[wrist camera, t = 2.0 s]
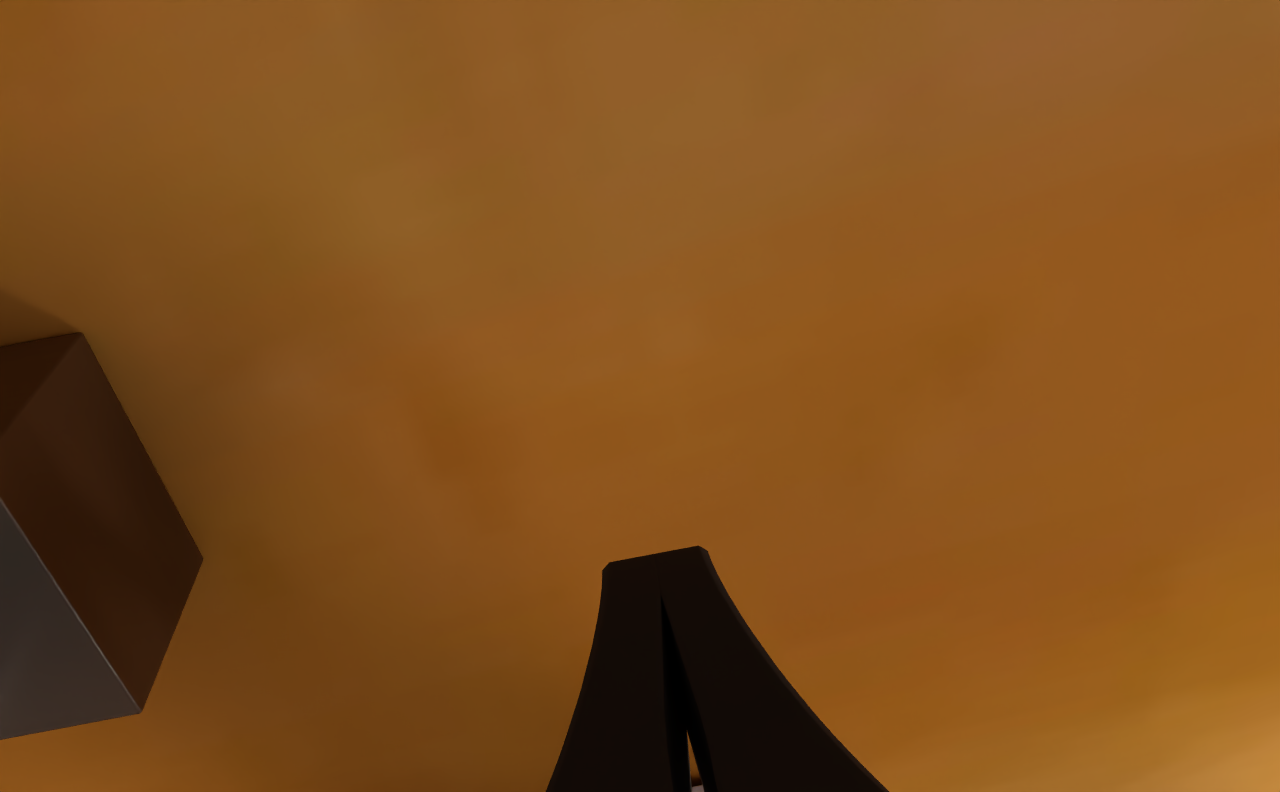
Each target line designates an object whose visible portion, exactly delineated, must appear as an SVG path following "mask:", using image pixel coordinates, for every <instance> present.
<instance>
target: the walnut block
mask: <svg viewBox="0 0 1280 792" xmlns="http://www.w3.org/2000/svg"><path fill="white" fill-rule="evenodd" d="M202 562H203V557H202V555H201V553H200V552H199V550H198V548H197V546H196V544H195V542H194V540H193V538H192V537H191V535H190V533H189V531H188V529H187V527H186V525H185V524H184V522H183V520H182V518H181V516H180V514H179V512H178V511H177V509H176V507H175V505H174V503H173V501H172V499H171V497H170V496H169V494H168V492H167V490H166V488H165V486H164V484H163V483H162V481H161V479H160V477H159V475H158V473H157V471H156V469H155V468H154V466H153V464H152V462H151V460H150V458H149V456H148V455H147V453H146V451H145V449H144V447H143V445H142V443H141V441H140V440H139V438H138V436H137V434H136V432H135V430H134V428H133V427H132V425H131V423H130V421H129V419H128V417H127V415H126V413H125V412H124V410H123V408H122V406H121V404H120V402H119V400H118V399H117V397H116V395H115V393H114V391H113V389H112V387H111V385H110V384H109V382H108V380H107V378H106V376H105V374H104V372H103V371H102V369H101V367H100V365H99V363H98V361H97V359H96V357H95V356H94V354H93V352H92V350H91V348H90V346H89V344H88V343H87V341H86V339H85V337H84V335H83V334H82V333H75V334H70V335H65V336H59V337H54V338H48V339H43V340H37V341H32V342H27V343H21V344H16V345H10V346H5V347H0V740H2V739H7V738H13V737H18V736H23V735H29V734H34V733H39V732H44V731H50V730H55V729H60V728H66V727H71V726H76V725H81V724H87V723H92V722H97V721H103V720H108V719H113V718H119V717H124V716H129V715H134V714H139V713H141V712H142V710H143V708H144V705H145V703H146V701H147V698H148V696H149V693H150V691H151V688H152V686H153V683H154V681H155V678H156V676H157V673H158V671H159V668H160V666H161V663H162V661H163V658H164V656H165V653H166V651H167V648H168V646H169V643H170V641H171V639H172V636H173V634H174V631H175V629H176V626H177V624H178V621H179V619H180V616H181V614H182V611H183V609H184V606H185V604H186V601H187V599H188V596H189V594H190V591H191V589H192V586H193V584H194V582H195V579H196V577H197V574H198V572H199V569H200V567H201V564H202Z"/></svg>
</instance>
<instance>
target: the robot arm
mask: <svg viewBox="0 0 1280 792" xmlns="http://www.w3.org/2000/svg"><path fill="white" fill-rule="evenodd" d="M687 732H688V735H689V739H690V743H691V746H692V750H693V753H694V757H695V760H696V764H697V768H698V771H699V775H700V778H701V782H702V785H699V786H694V787H692V786H691V774H690V763H689V751H688V739H687ZM546 792H889V791H888V790H887V789H886V788H885V787H884V786H883V785H882V784H881V783H880V782H879V781H878V780H877V779H876V778H875V777H874V776H873V775H872V774H871V773H870V772H869V771H868V770H867V769H866V768H865V767H864V766H863V765H862V764H861V763H860V762H859V761H858V760H857V759H856V758H855V757H854V756H853V755H852V754H851V753H850V752H849V751H848V750H847V749H846V748H845V747H844V745H843V744H842V743H841V742H840V741H839V740H838V739H837V738H836V737H835V736H834V735H833V734H832V733H831V731H830V730H829V729H828V728H827V727H826V726H825V725H824V724H823V722H822V721H821V720H820V719H819V718H818V717H817V716H816V714H815V713H814V712H813V711H812V710H811V709H810V707H809V706H808V705H807V704H806V702H805V701H804V700H803V699H802V698H801V696H800V695H799V694H798V693H797V692H796V690H795V689H794V688H793V687H792V685H791V684H790V683H789V682H788V680H787V679H786V678H785V676H784V675H783V674H782V673H781V671H780V670H779V669H778V667H777V666H776V665H775V663H774V662H773V661H772V659H771V658H770V656H769V655H768V654H767V652H766V651H765V649H764V648H763V647H762V645H761V644H760V642H759V641H758V640H757V638H756V637H755V635H754V634H753V633H752V631H751V630H750V628H749V627H748V625H747V624H746V622H745V621H744V619H743V618H742V616H741V614H740V613H739V611H738V609H737V608H736V606H735V605H734V603H733V601H732V600H731V598H730V596H729V595H728V593H727V591H726V589H725V588H724V586H723V584H722V582H721V580H720V578H719V576H718V574H717V572H716V570H715V568H714V566H713V564H712V561H711V559H710V556H709V554H708V551H707V550H705V549H703V548H702V547H700V546H694V547H689V548H683V549H678V550H673V551H667V552H662V553H657V554H652V555H646V556H641V557H636V558H630V559H625V560H620V561H614V562H609V563H608V565H607V566H606V567H605V568H604V569H603V570H602V590H601V600H600V607H599V613H598V619H597V624H596V629H595V634H594V639H593V644H592V648H591V652H590V656H589V660H588V664H587V668H586V672H585V676H584V680H583V684H582V688H581V691H580V695H579V698H578V701H577V705H576V708H575V711H574V714H573V717H572V720H571V723H570V726H569V729H568V732H567V735H566V738H565V741H564V744H563V747H562V750H561V753H560V756H559V758H558V761H557V764H556V766H555V769H554V772H553V774H552V777H551V780H550V782H549V785H548V787H547V790H546Z"/></svg>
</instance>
